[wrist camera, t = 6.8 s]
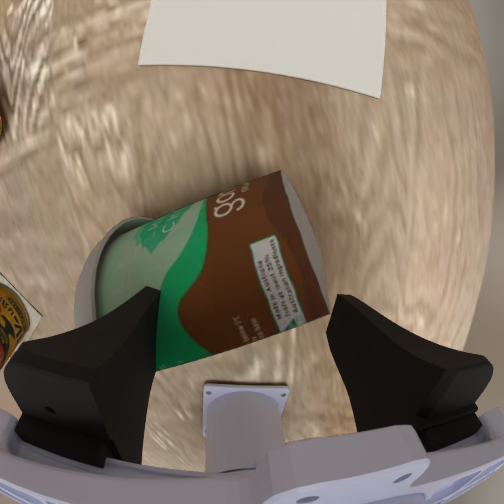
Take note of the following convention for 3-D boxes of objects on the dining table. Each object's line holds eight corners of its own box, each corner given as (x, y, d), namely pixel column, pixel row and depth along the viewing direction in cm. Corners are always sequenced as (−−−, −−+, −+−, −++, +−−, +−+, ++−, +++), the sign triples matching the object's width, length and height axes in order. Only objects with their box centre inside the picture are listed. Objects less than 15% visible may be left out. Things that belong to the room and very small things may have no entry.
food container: (238, 114, 7) (22, 258, 9) (333, 336, 7) (89, 391, 10) (283, 158, 18) (157, 219, 21) (320, 245, 19) (191, 294, 22)
